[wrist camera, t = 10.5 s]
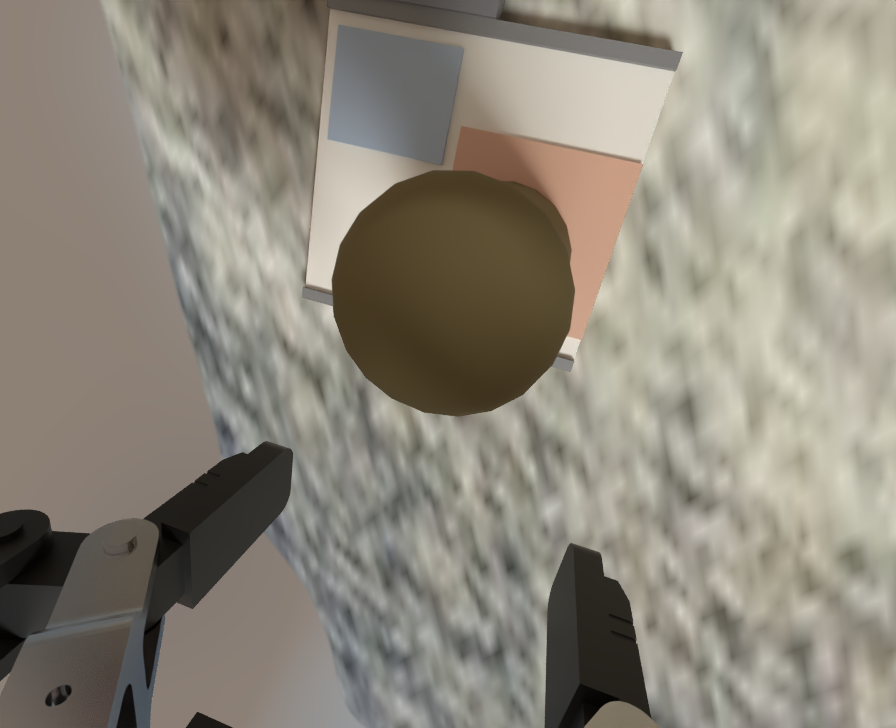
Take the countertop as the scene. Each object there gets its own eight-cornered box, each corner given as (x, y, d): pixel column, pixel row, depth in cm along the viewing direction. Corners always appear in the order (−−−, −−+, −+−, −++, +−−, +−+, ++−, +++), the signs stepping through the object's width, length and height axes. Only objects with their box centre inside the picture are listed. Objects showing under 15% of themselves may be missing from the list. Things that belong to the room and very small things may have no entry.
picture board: (675, 60, 15) (682, 52, 14) (569, 365, 20) (570, 371, 19) (338, -1, 17) (328, -11, 16) (311, 294, 21) (302, 297, 20)
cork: (490, 354, 19) (428, 509, 9) (400, 253, 19) (227, 300, 9) (603, 263, 17) (685, 337, 7) (504, 144, 16) (436, 36, 6)
